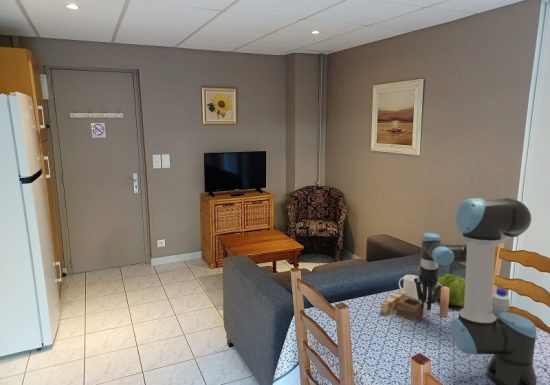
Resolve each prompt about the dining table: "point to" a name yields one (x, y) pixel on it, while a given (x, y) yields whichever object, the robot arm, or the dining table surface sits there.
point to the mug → (409, 286)
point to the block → (410, 308)
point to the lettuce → (453, 288)
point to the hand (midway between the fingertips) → (425, 315)
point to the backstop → (391, 303)
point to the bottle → (500, 302)
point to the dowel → (444, 302)
